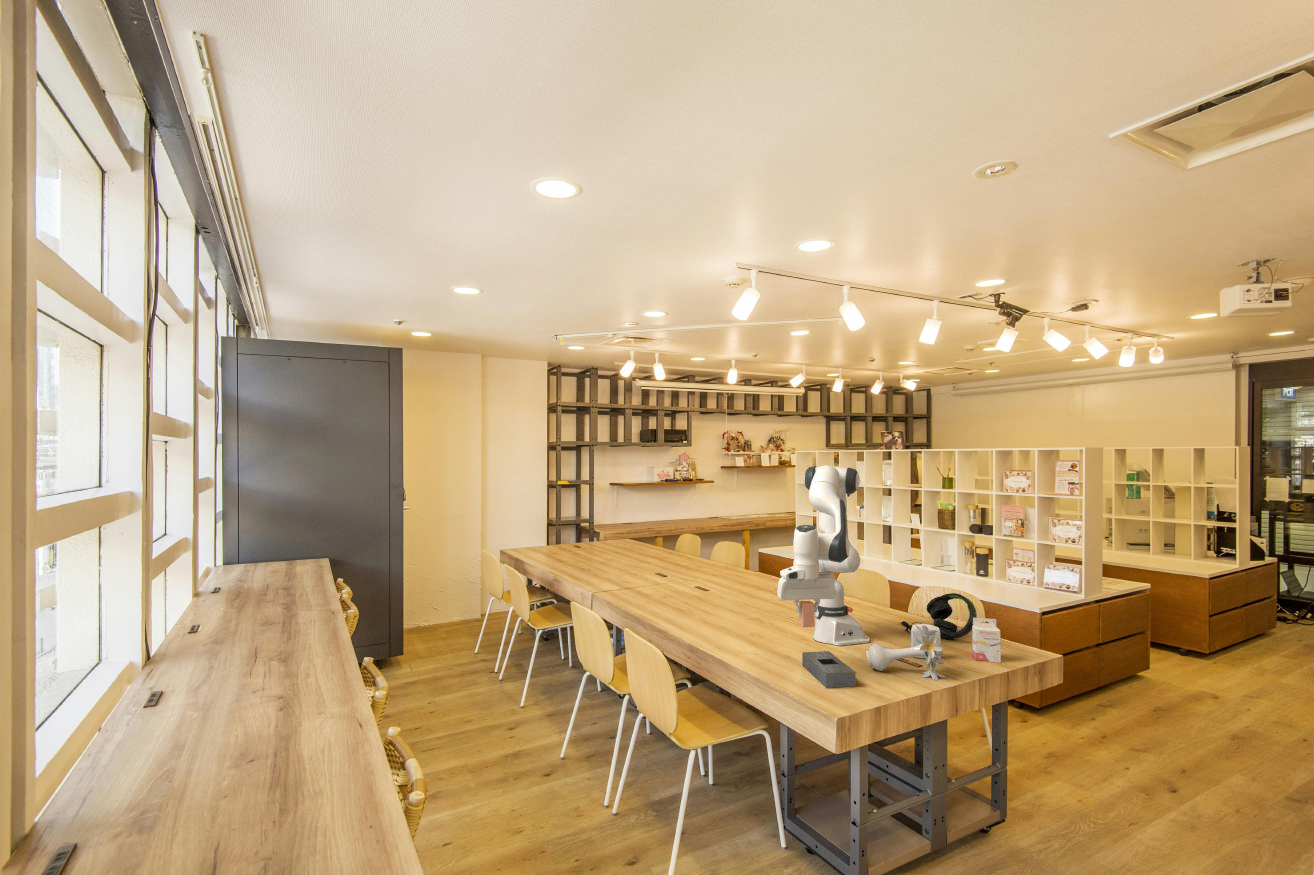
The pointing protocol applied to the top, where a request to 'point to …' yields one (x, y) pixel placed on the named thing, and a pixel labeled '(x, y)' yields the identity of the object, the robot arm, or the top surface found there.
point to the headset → (943, 610)
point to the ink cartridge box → (986, 640)
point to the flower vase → (909, 653)
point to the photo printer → (917, 633)
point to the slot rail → (828, 669)
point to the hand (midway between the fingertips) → (806, 612)
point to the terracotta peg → (806, 614)
